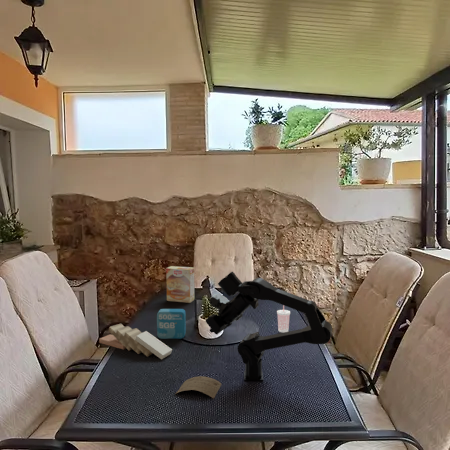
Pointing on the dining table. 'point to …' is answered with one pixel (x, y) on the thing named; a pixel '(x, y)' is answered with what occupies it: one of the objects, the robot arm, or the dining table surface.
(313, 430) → the dining table surface
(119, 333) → the domino
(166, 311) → the data package
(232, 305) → the robot arm
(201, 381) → the curved brown sheet
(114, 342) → the end domino
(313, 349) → the dining table surface
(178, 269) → the coffeecake box
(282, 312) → the beverage cup
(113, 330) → the domino
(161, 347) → the domino
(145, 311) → the dining table surface
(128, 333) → the domino
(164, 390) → the dining table surface
